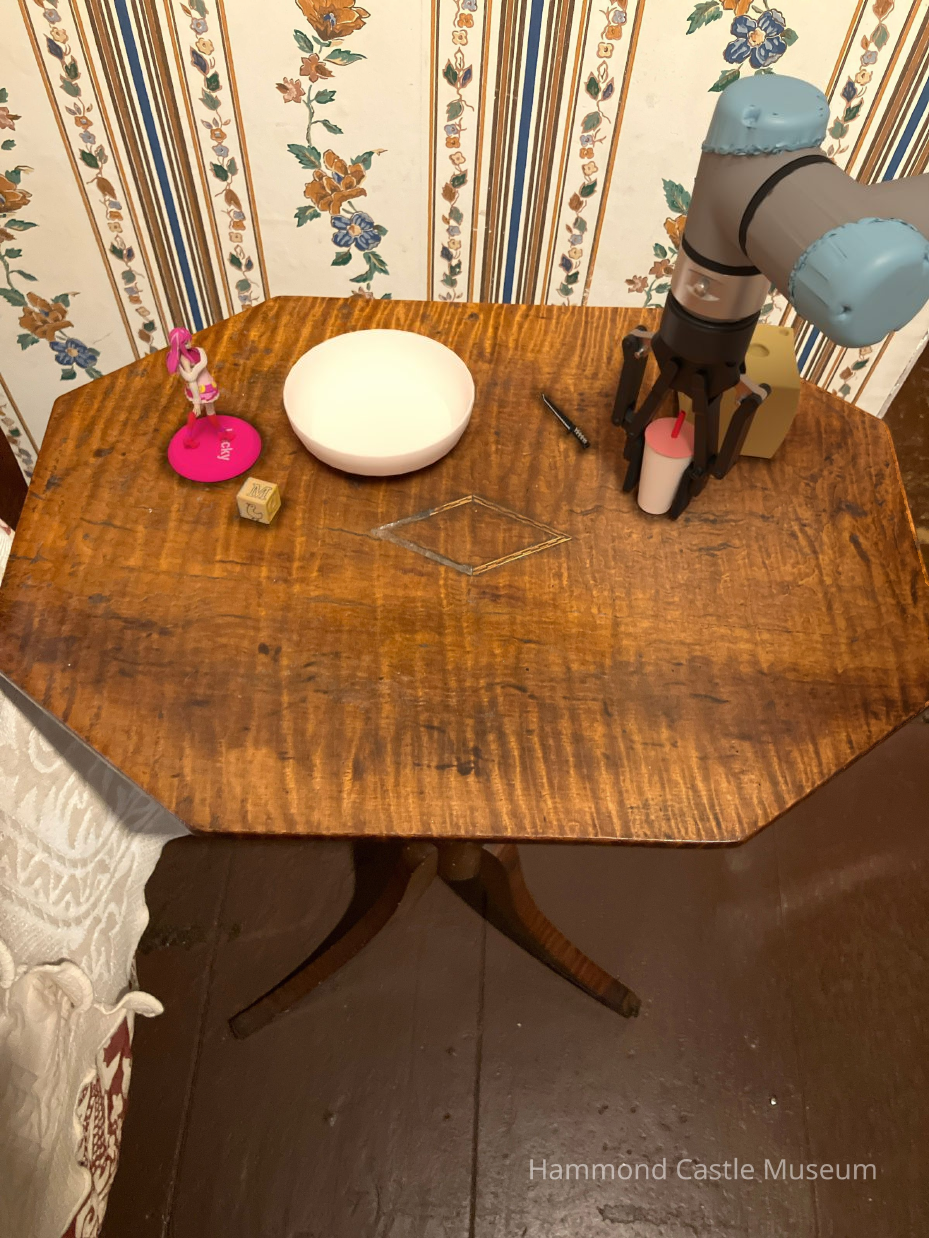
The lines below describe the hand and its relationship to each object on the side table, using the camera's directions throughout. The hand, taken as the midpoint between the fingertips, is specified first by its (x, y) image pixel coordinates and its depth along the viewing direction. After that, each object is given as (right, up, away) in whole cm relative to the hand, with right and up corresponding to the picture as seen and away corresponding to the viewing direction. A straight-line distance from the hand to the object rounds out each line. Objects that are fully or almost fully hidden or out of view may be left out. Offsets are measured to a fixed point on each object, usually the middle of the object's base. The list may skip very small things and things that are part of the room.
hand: (655, 497), depth 89 cm
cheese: (+9, +9, +8) cm, 15 cm away
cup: (0, 0, +1) cm, 1 cm away
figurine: (-46, +5, +4) cm, 46 cm away
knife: (-8, +9, +8) cm, 15 cm away
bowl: (-28, +8, +6) cm, 30 cm away
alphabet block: (-40, -2, -1) cm, 40 cm away
